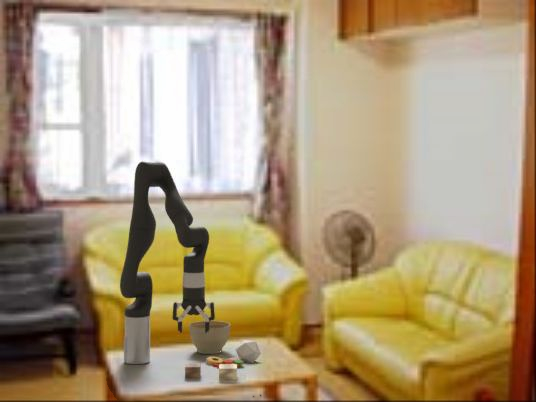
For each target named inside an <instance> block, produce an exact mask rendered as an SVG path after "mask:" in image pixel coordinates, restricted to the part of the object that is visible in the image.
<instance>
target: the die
mask: <svg viewBox="0 0 536 402" xmlns="http://www.w3.org/2000/svg"><path fill="white" fill-rule="evenodd" d="M260 350H261V349H260V347H259V345H258V342H257V341H256V340H247V339H243V340H242V341H241V343H240V344H239V345H238V346H237V347H236V349H235V351H236V354H237V358H241V359H242V361H244V363H247V364H254V363H255V362H256V360H257V359H258V358H259V357H260V356H261V354H262V352H261V351H260Z"/></svg>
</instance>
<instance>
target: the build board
mask: <svg viewBox="0 0 536 402" xmlns="http://www.w3.org/2000/svg"><path fill="white" fill-rule="evenodd" d="M246 376H247V374H246V373H237V380H219V373H210V378H209V384H222V383H223V384H246V383H247V382H246V381H247V379H246V378H247V377H246Z"/></svg>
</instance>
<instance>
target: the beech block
mask: <svg viewBox="0 0 536 402" xmlns="http://www.w3.org/2000/svg"><path fill="white" fill-rule="evenodd" d="M218 374H219V380H237V374H238V368H237V364H219V369H218Z"/></svg>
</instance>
